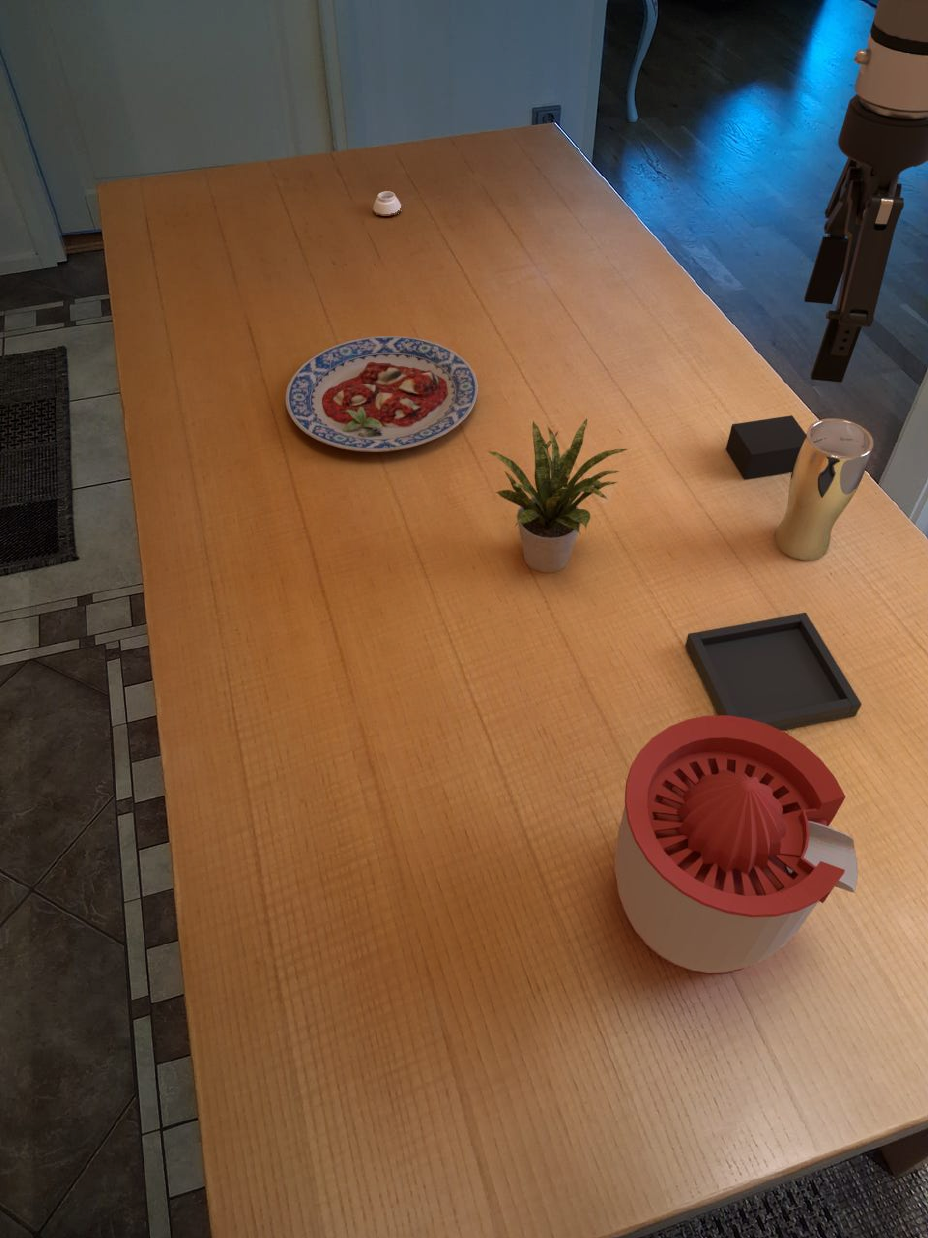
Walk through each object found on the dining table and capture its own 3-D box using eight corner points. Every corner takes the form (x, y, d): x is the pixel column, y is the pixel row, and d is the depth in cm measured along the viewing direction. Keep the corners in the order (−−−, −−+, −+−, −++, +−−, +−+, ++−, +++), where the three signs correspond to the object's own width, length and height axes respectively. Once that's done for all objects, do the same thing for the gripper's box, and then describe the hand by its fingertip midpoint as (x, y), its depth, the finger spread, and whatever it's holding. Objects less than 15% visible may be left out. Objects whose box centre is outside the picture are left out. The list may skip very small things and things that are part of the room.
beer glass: (757, 538, 103) (790, 434, 92) (796, 512, 106) (833, 408, 95) (805, 573, 100) (846, 468, 88) (845, 545, 102) (890, 440, 91)
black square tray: (801, 624, 95) (806, 612, 93) (855, 716, 87) (862, 704, 86) (684, 645, 93) (688, 633, 92) (730, 740, 86) (734, 729, 84)
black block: (784, 440, 115) (792, 414, 112) (805, 470, 111) (814, 444, 108) (725, 449, 114) (731, 423, 111) (744, 479, 110) (751, 454, 107)
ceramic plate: (367, 330, 133) (365, 312, 131) (514, 385, 124) (514, 366, 121) (248, 420, 120) (243, 401, 118) (402, 489, 110) (400, 470, 108)
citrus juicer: (809, 1031, 69) (901, 932, 54) (585, 971, 72) (612, 861, 57) (815, 849, 78) (894, 721, 63) (617, 803, 82) (647, 670, 67)
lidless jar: (368, 209, 159) (381, 221, 156) (367, 192, 156) (379, 204, 154) (394, 202, 160) (406, 214, 157) (392, 186, 158) (405, 197, 155)
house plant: (646, 563, 101) (668, 449, 89) (559, 626, 95) (570, 513, 83) (556, 500, 108) (565, 386, 96) (470, 555, 103) (468, 441, 90)
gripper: (840, 43, 79) (778, 269, 95) (864, 164, 63) (786, 411, 80) (929, 47, 78) (852, 275, 94) (976, 172, 62) (874, 420, 79)
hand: (821, 338), depth 87 cm, fingers open, 13 cm apart
